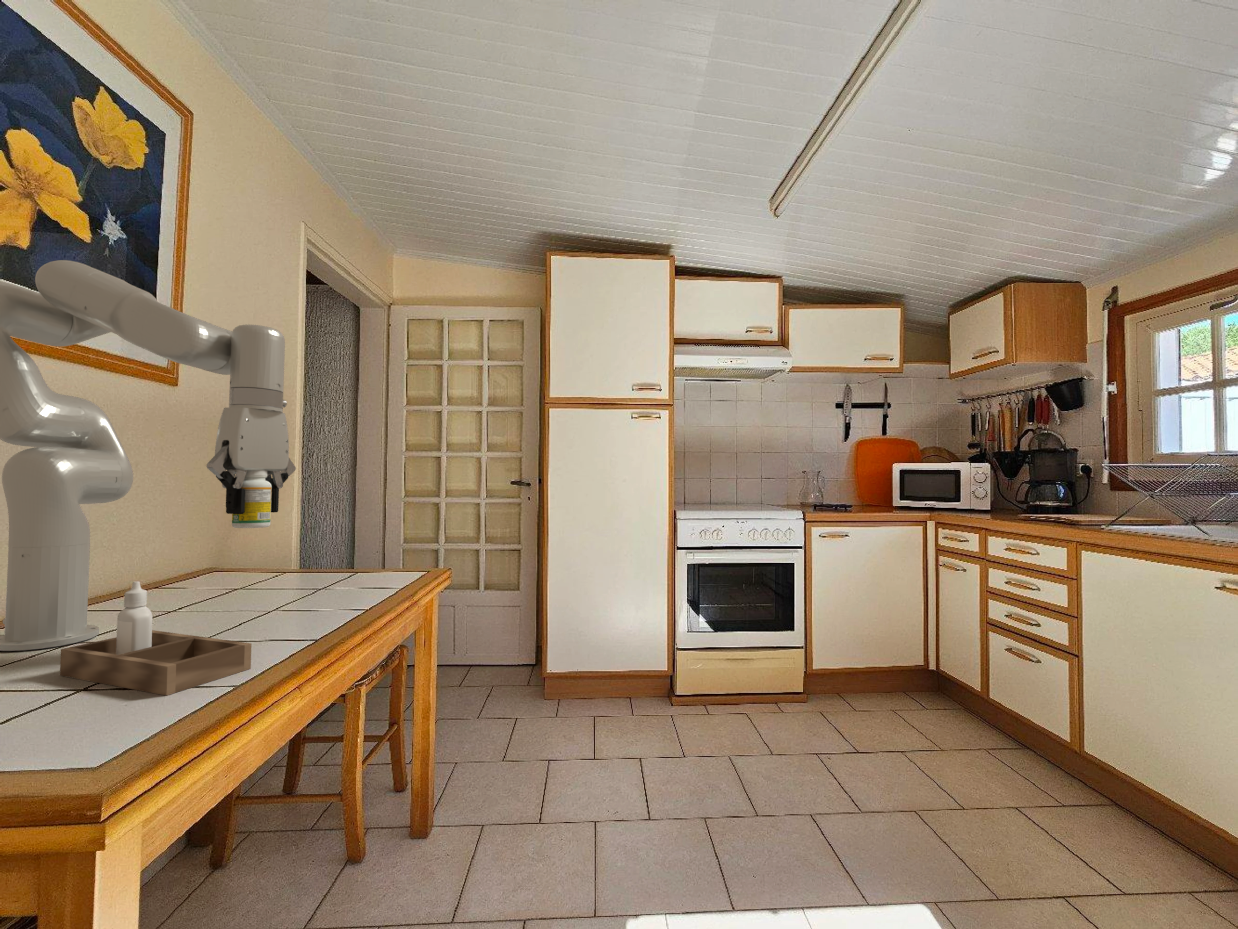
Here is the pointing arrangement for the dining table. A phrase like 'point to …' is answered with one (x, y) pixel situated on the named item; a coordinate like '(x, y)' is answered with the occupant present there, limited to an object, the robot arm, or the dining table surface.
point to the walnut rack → (157, 662)
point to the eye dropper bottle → (134, 622)
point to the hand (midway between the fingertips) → (252, 511)
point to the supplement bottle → (255, 501)
